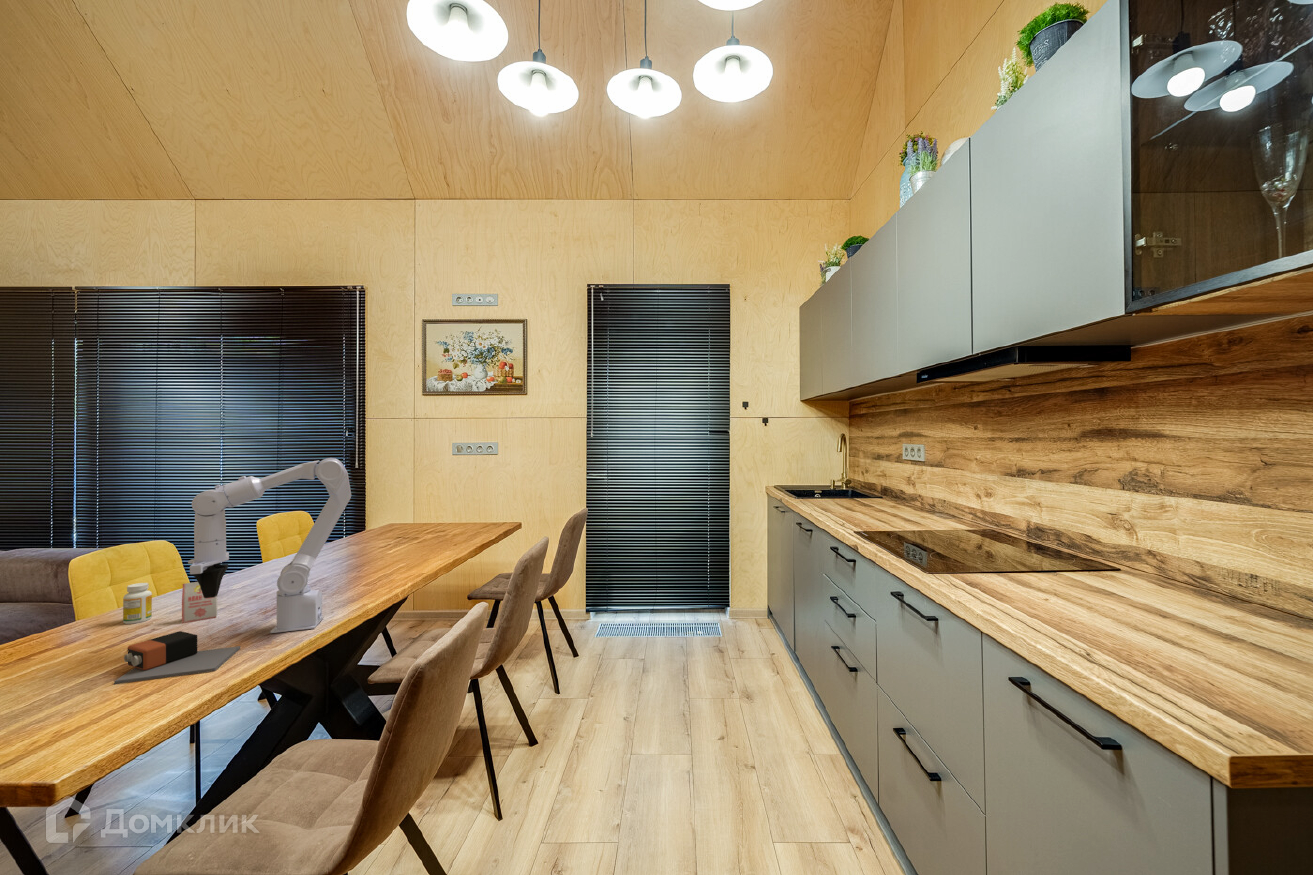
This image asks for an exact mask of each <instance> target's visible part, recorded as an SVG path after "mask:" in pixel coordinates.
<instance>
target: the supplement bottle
mask: <svg viewBox="0 0 1313 875" xmlns="http://www.w3.org/2000/svg"><path fill="white" fill-rule="evenodd" d="M149 584H150V583H149V582H138V583H133V584H129V585H127V587H126V591H127V593H126V594H124V596H123V598H122V609H123V610H122V611H123V612H122V617H123V618H122V623H123V624H125V625H134V624H141V623H143V622H146V621H149V620H151V618H152V617H153V616H152V615H153V614H152V610H153V608H152V607H153V592H152V591H151V590H148V589H149V588H150V586H149Z"/></svg>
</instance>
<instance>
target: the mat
mask: <svg viewBox="0 0 1313 875" xmlns="http://www.w3.org/2000/svg"><path fill="white" fill-rule="evenodd" d="M240 650H241V645H237V646H228V647H222V648H221V647H220V648H213V649H204V650H203V649H202V650H197V653H196V654H194V655H191V656H188V657H185V658H182V659H179V660H176V661H173V662H170V663H167V664H164V665H161V666H158V667H155V668H152V669H148V670H142V669H138V668H135V667H132V669H131V670H129V671H127V672H126V673H125V674H123V675H121V676H120V677H117V679H115V680H114V682H113V683H114V685H118V684H119V685H120V684H126V683H127V684H128V683H133V682H141V681H150V680H157V679H164V678H165V679H166V678H172V677H179V676H181V677H182V676H187V675H194V674H202V673H211V672H216V670H218V669H219V668H220V667H221V666H222V665H224V664H225V663H226V662H227V661H228V660H229V659H230V658H232V657H233V656H234V655H235V654H236V653H238V651H240Z"/></svg>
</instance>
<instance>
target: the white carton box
mask: <svg viewBox="0 0 1313 875" xmlns="http://www.w3.org/2000/svg"><path fill="white" fill-rule="evenodd" d="M181 592H182V594H181V595H182V596H181V624H189V623H193V622H198V621H199V622H200V621H206V620H210V619H217V617H218V595H217V596H216V597H212V598H204V596H203V593H202V590H201V587H200V585H199V583H198V581H195V582H187V583H182V591H181Z"/></svg>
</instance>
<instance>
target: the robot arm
mask: <svg viewBox="0 0 1313 875" xmlns="http://www.w3.org/2000/svg"><path fill="white" fill-rule="evenodd" d="M315 478H317V479H318V480H319V481H320V482H321V483H322V484H323V485H324V487H325V489H326V492H327V493H328V496H329V498H328V499H327V501H326V503H325V504H324V506H323V507H322V509H321V511H320V513H319V514H318V517H317V518H316V520H315V522H314V524H313V525H312V527H311V528H310V530H309V532H308V534H307V536H306V537H305V539H304V540H303V543H302V544H301V546H300V547H299V549H298V551H297V552H296V554H295V556H294V557H293V559H292V560H291V561H290V562H289V563H288V564H286V565H285V566H284V567H283V568H282V569H281V570H280V575H279V576H278V577H277V578H278V579H277V580H276V586H277V589H278V590H277V591H276V625H275V626H274V627H273V628H272V629H271V630H270V631H269V633H270V634H275V633H276V634H277V633H285V632H294V631H301V630H310V629H311V630H313V629H315V628H316V627H317V626H318V625H319V624H320V622H321V621H322V620H323V619H324V617H323V591H322V590H321V589H312V586H311V585H309V583H308V582H309V577H310V573H311V570H312V569H313V566H314V564H315V562H316V560H317V558H318V556H319V554H320V553H321V550H322V549H323V547H324V546H325V544H326V542H327V540H328V539H329V537H330V536H331V533H332V532H333V529H334V528H335V526H336V525H337V523H338V521H339V519H340V517H341V516H342V514H343V512H344V511H345V508H346V507H347V505H348V503H349V502H350V501H351V497H352V492H351V485H350V479H349V478H350V477H349V473H348V470H347V469H346V467H345V465H344V463H343V462H342V461H341V460H339V459H337V458H336V457H328V458H324V459H322V460H321V461H320V460H314V461H308V462H304V463H300V464H297V465H296V466H293V467H290V468H287V469H284V470H281V471H278V472H276V473H272V474H270V475H266V476H265V477H262V478H258V477H255V476H252V475H250V476H246V475H243V476H240V477H238V480H235V481H233V482H229V483H227V484H224V485H223V484H222V485H221V484H216V485H214V489H208V490H204V491H202V492H200V493H198V494H197V495H195V496H194V497H193V499H192V500H191V507H192V510H193V511H194V512H195V513H194V522H193V524H194V525H193V527H194V528H193V534H194V539H193V540H194V541H193V542H194V553H193V554H194V556H193V557H194V558H192V559H190V560H187V564H191V565H190V566H189V575H192V576H193V577H194V578H195V579H196V582H198V583H199V585H200V587H201V590H202V593H203V596H204V598H212V597H216V596H217V597H218V594H219V592H220V587H221V584H222V580H223V578H224V575H225V573H226V572H227V570H228V569H229V563H224V562H227V561H229V560H230V552H229V551H227V519H226V510H225V509H226V508H234V507H237V506H239V505H243V504H246V503H248V502H252V501H254V500H258V499H260V498H262V497H263V495H264V493H265V491H266V490H269V489H272V488H277V487H279V486H282V485H284V484H288V483H291V482H294V481H298V480H301V479H302V480H315ZM222 563H223V564H222Z"/></svg>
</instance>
